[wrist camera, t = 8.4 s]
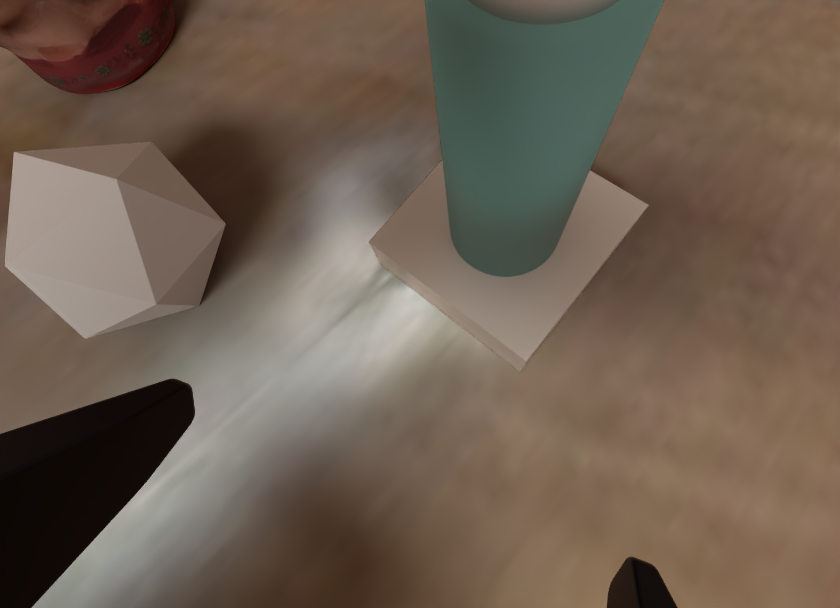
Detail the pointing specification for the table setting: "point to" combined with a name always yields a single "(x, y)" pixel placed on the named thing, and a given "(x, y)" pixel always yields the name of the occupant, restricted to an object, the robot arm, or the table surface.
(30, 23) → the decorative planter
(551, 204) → the thermos
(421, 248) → the block
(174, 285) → the die
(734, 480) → the table surface
